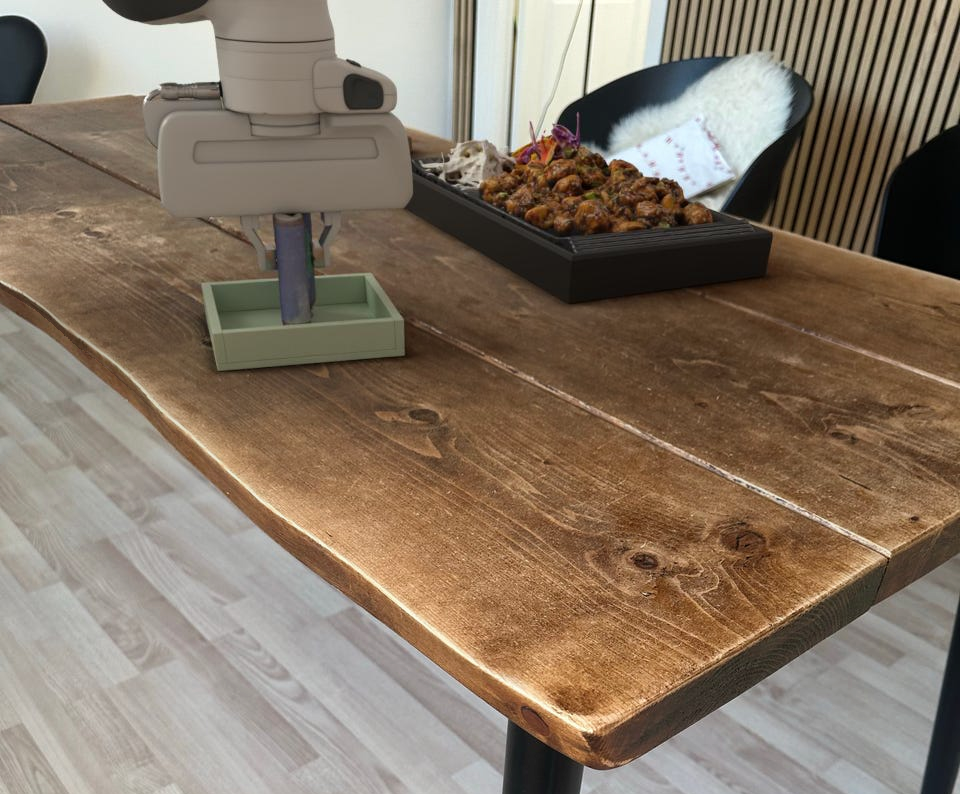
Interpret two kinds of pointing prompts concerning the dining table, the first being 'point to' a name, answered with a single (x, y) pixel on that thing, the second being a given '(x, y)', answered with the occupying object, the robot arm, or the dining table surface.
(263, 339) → the tray
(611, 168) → the food platter
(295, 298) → the flask
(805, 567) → the dining table surface
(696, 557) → the dining table surface
